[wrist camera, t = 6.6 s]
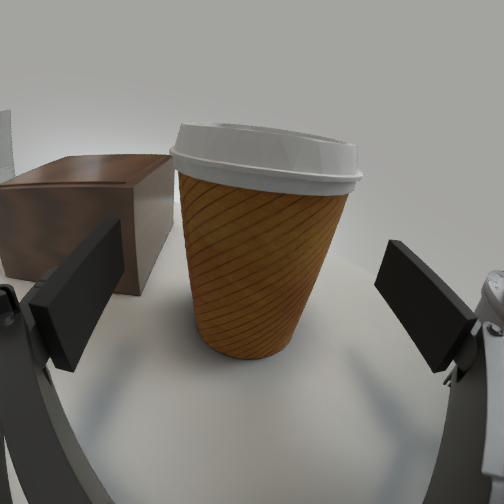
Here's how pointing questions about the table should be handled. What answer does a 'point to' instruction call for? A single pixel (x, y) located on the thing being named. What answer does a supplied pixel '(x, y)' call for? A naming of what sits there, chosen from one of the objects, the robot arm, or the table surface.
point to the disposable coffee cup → (257, 227)
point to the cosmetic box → (6, 147)
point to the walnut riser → (87, 212)
